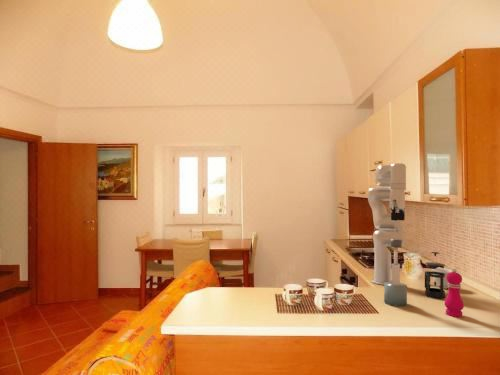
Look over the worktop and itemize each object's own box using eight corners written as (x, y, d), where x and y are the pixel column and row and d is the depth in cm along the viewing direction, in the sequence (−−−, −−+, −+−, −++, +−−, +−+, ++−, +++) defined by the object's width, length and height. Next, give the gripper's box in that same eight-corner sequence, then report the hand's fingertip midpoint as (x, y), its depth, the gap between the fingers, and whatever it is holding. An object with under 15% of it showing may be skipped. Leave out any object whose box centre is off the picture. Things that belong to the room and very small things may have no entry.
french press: (450, 298, 175) (451, 253, 176) (435, 299, 173) (435, 253, 174) (433, 292, 187) (433, 250, 187) (418, 293, 184) (418, 250, 185)
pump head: (401, 267, 162) (401, 240, 163) (390, 266, 164) (390, 239, 165) (401, 264, 170) (401, 238, 170) (390, 263, 172) (390, 238, 172)
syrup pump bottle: (407, 307, 158) (407, 267, 159) (383, 304, 162) (384, 265, 163) (406, 301, 168) (406, 263, 168) (384, 299, 171) (384, 261, 172)
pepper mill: (454, 311, 154) (454, 266, 155) (467, 317, 147) (468, 270, 148) (440, 312, 153) (440, 267, 153) (453, 318, 146) (453, 270, 146)
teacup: (454, 285, 204) (454, 268, 204) (455, 291, 191) (455, 273, 191) (431, 282, 209) (431, 266, 210) (431, 288, 196) (431, 270, 196)
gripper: (396, 188, 187) (396, 219, 186) (384, 186, 174) (384, 220, 173) (411, 188, 182) (411, 220, 181) (399, 186, 169) (399, 220, 168)
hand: (397, 220), depth 177 cm, fingers open, 9 cm apart
